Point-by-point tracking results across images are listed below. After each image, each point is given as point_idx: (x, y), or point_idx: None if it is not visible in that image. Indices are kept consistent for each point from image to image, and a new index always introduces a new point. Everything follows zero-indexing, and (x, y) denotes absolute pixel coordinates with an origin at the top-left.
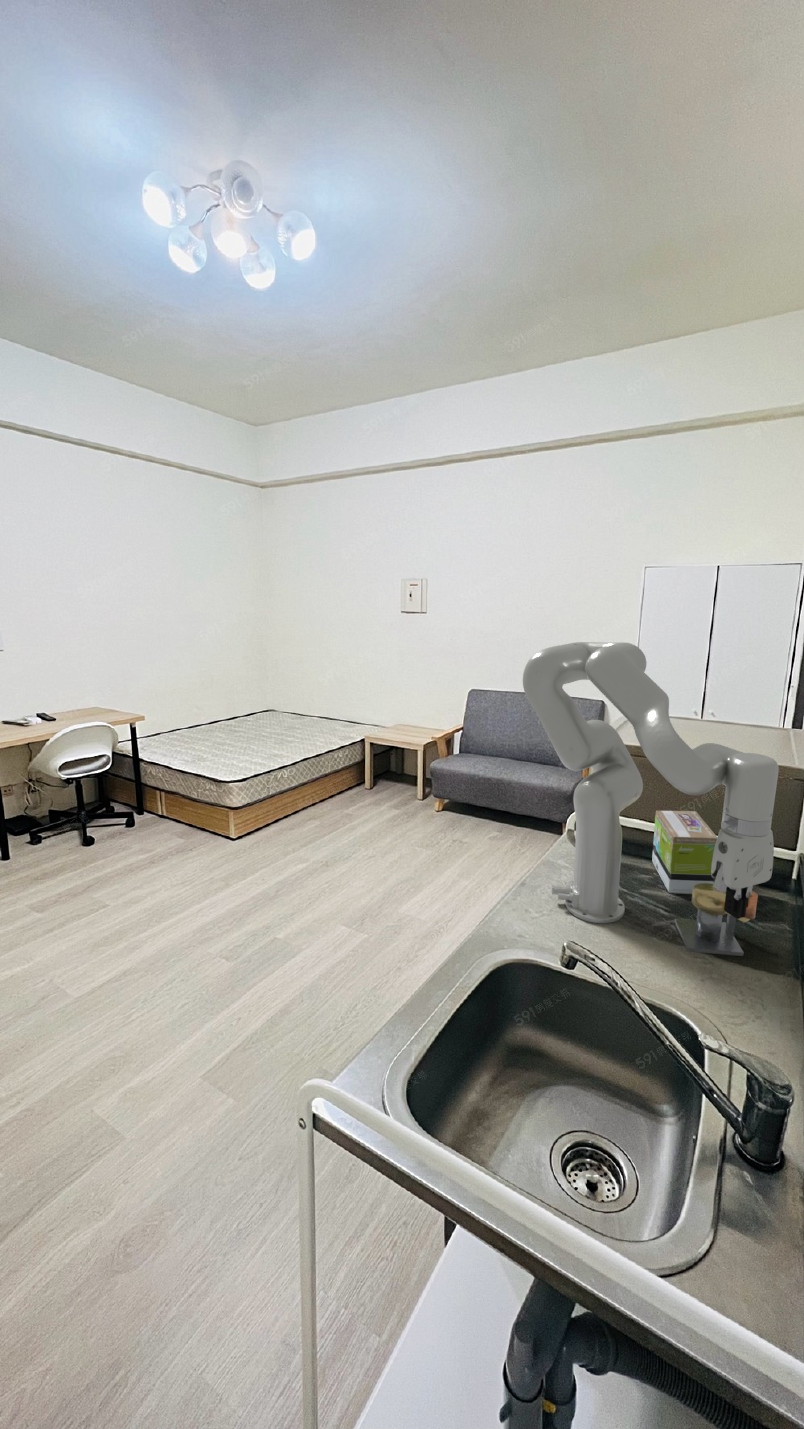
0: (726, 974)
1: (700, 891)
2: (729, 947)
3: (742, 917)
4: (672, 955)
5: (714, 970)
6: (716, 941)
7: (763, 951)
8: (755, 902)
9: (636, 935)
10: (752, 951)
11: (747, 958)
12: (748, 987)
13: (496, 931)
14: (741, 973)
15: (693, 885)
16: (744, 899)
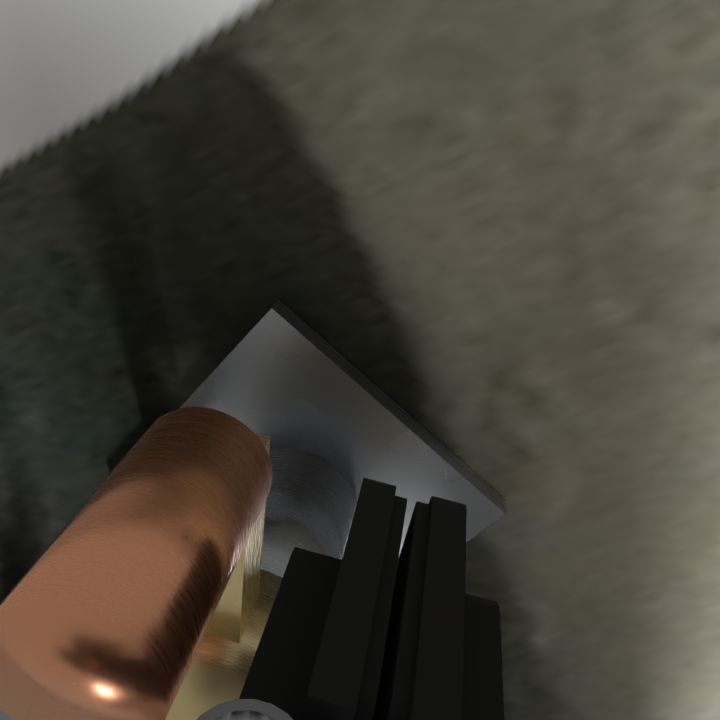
0: (537, 273)
1: None
2: (299, 380)
3: (393, 486)
4: (612, 530)
5: (557, 334)
6: (310, 448)
7: (129, 249)
8: (119, 540)
9: (591, 697)
10: (187, 288)
11: (276, 273)
12: (558, 124)
13: None
14: (450, 223)
15: (3, 718)
16: (358, 704)
